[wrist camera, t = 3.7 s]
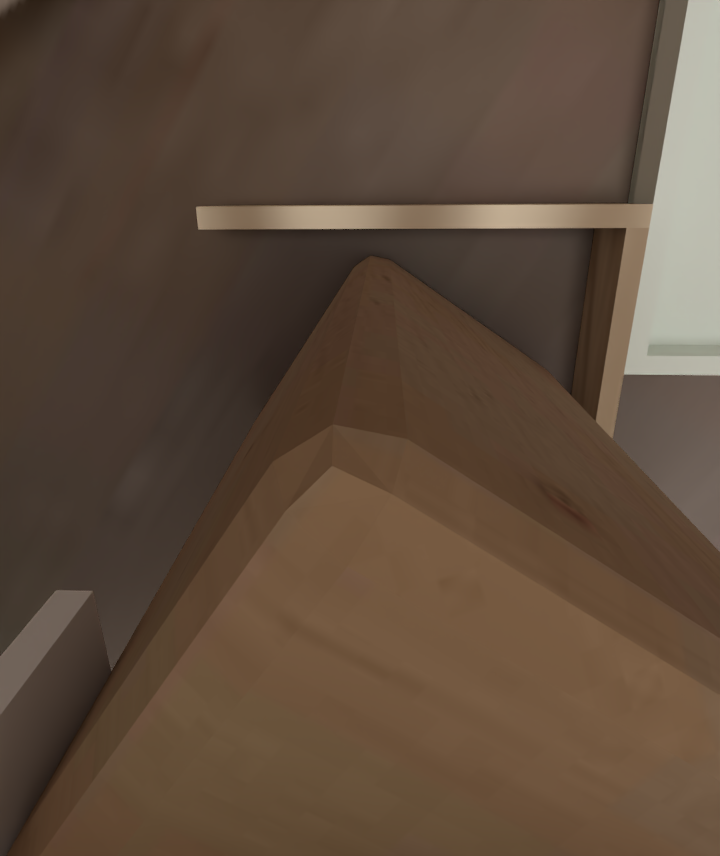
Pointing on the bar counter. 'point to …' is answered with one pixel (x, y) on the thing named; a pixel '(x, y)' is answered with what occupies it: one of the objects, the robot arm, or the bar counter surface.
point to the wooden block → (412, 626)
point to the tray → (680, 196)
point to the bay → (613, 227)
